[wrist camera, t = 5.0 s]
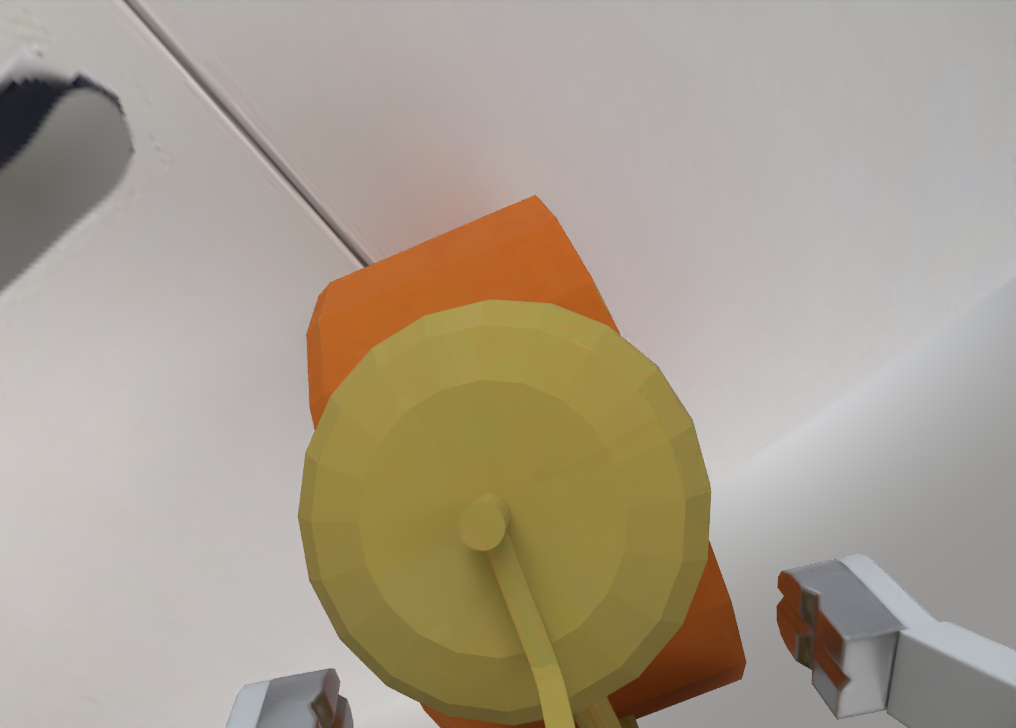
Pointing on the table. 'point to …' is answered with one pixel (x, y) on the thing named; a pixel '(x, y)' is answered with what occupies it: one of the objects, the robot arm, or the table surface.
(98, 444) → the table surface
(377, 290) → the alarm clock
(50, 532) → the table surface
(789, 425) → the table surface
